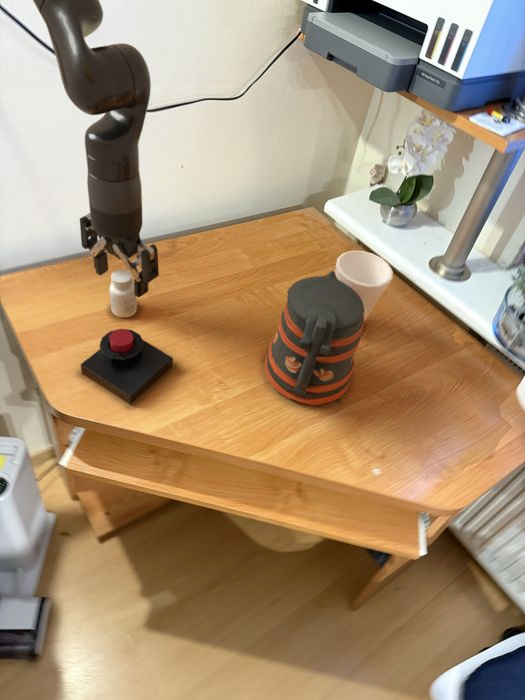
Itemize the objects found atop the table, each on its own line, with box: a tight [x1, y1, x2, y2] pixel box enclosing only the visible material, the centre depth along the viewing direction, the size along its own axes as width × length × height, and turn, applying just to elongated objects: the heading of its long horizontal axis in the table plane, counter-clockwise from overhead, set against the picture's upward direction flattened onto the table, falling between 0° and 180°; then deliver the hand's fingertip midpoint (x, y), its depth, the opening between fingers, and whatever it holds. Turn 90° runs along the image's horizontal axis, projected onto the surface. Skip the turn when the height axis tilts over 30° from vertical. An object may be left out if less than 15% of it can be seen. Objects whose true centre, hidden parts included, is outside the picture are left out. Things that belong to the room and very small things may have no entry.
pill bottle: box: [108, 269, 138, 318], centre depth 89 cm, size 4×4×8 cm
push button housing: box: [80, 328, 174, 406], centre depth 81 cm, size 10×10×4 cm
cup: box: [334, 250, 394, 321], centre depth 93 cm, size 10×10×13 cm
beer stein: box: [264, 270, 366, 406], centre depth 79 cm, size 19×15×20 cm
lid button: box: [109, 328, 134, 354], centre depth 81 cm, size 4×4×2 cm
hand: (121, 283), depth 87 cm, fingers open, 8 cm apart
